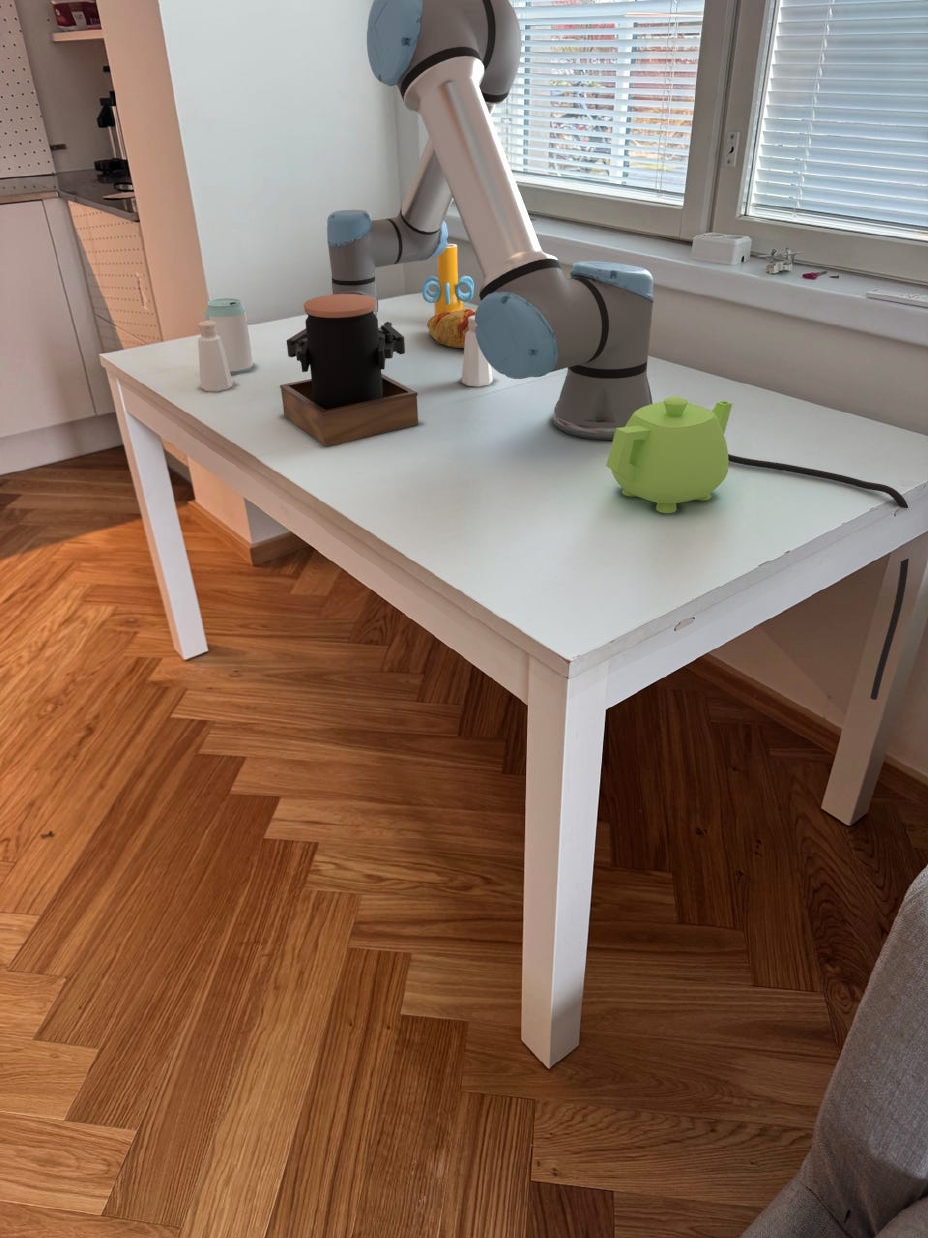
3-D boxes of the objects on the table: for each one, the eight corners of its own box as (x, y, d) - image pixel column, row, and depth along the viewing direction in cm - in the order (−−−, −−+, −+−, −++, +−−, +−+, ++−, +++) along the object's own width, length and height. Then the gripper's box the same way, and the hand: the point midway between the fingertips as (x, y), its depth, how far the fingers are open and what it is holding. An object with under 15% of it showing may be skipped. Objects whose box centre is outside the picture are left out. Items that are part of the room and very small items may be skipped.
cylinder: (474, 329, 191) (472, 251, 183) (422, 329, 191) (419, 251, 183) (474, 313, 201) (473, 239, 193) (426, 314, 201) (423, 240, 193)
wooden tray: (419, 424, 145) (417, 392, 142) (325, 446, 138) (322, 413, 135) (372, 397, 156) (369, 366, 153) (283, 416, 149) (279, 384, 146)
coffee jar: (385, 407, 151) (378, 292, 142) (383, 431, 142) (374, 310, 133) (319, 409, 151) (307, 294, 142) (312, 433, 142) (299, 312, 133)
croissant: (419, 351, 190) (402, 319, 184) (452, 319, 192) (436, 286, 186) (488, 372, 175) (471, 338, 170) (523, 338, 178) (508, 303, 172)
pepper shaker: (480, 388, 158) (479, 322, 153) (455, 383, 161) (453, 318, 155) (499, 380, 162) (499, 315, 156) (473, 375, 165) (473, 311, 159)
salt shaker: (232, 380, 165) (222, 316, 159) (234, 390, 161) (224, 324, 155) (200, 383, 164) (189, 319, 158) (201, 393, 159) (190, 327, 154)
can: (242, 361, 175) (233, 294, 169) (260, 369, 170) (251, 301, 164) (207, 368, 171) (196, 301, 165) (224, 377, 167) (213, 308, 160)
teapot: (684, 459, 131) (694, 370, 124) (760, 491, 121) (775, 396, 114) (573, 496, 121) (578, 401, 114) (646, 533, 112) (656, 432, 105)
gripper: (422, 342, 159) (422, 384, 140) (285, 347, 158) (266, 388, 139) (420, 297, 155) (420, 333, 136) (279, 301, 154) (259, 338, 135)
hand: (342, 361), depth 138 cm, fingers closed on coffee jar, 11 cm apart
